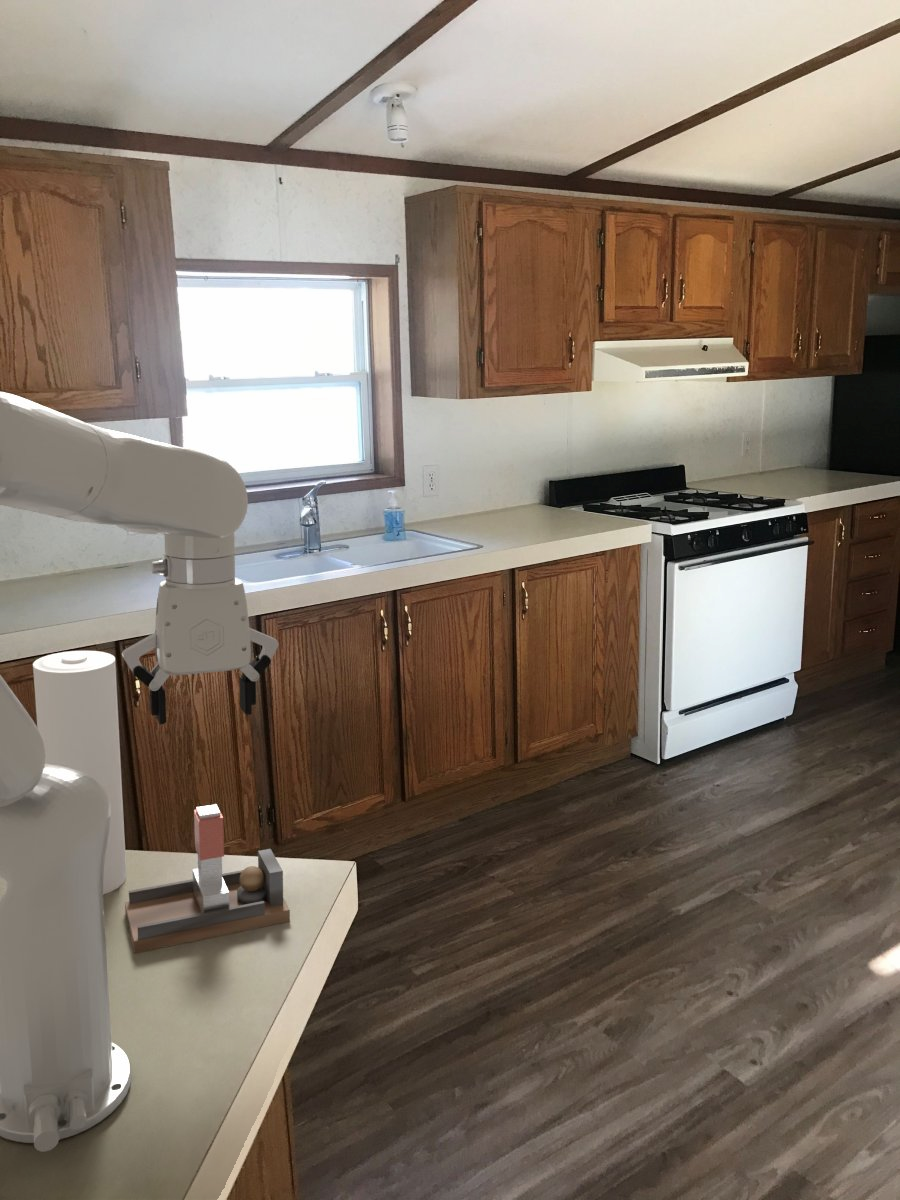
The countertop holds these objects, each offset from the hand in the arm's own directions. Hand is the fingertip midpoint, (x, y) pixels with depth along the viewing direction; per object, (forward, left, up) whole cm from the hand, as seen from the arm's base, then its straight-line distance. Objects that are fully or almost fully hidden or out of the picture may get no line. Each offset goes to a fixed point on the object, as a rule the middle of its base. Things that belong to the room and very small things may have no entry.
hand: (204, 715), depth 112 cm
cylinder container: (+15, +13, -26) cm, 33 cm away
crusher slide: (0, 0, -24) cm, 24 cm away
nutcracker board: (0, 0, -26) cm, 26 cm away
